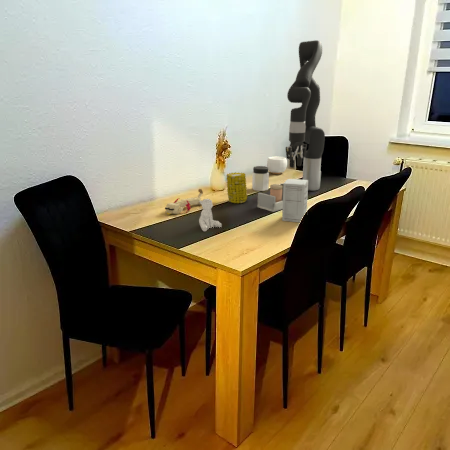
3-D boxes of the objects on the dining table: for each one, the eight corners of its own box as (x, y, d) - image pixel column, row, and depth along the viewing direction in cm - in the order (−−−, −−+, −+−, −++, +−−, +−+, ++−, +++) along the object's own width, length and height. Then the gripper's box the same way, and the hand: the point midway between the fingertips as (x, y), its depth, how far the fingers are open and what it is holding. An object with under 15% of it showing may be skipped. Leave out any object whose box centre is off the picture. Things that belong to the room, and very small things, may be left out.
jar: (260, 192, 241) (261, 169, 237) (249, 189, 247) (249, 167, 243) (271, 189, 247) (272, 167, 243) (260, 186, 253) (260, 165, 249)
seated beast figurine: (203, 232, 182) (203, 203, 178) (192, 226, 189) (191, 198, 185) (222, 227, 188) (222, 199, 184) (210, 222, 194) (210, 195, 190)
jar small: (275, 201, 220) (275, 183, 217) (284, 204, 216) (285, 185, 213) (267, 204, 216) (267, 185, 213) (276, 206, 212) (277, 188, 209)
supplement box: (307, 216, 201) (309, 179, 196) (303, 223, 193) (305, 184, 187) (285, 214, 204) (287, 178, 199) (281, 220, 196) (283, 182, 190)
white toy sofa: (280, 200, 226) (281, 186, 224) (296, 204, 219) (297, 190, 217) (257, 207, 215) (257, 192, 213) (273, 211, 208) (273, 197, 206)
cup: (266, 175, 280) (266, 159, 277) (267, 170, 291) (268, 155, 288) (286, 175, 278) (286, 160, 275) (286, 171, 290) (287, 156, 286)
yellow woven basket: (239, 208, 219) (224, 205, 226) (254, 198, 226) (239, 195, 233) (233, 179, 212) (218, 176, 219) (249, 169, 219) (234, 167, 226)
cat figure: (194, 204, 225) (158, 212, 205) (194, 187, 222) (158, 193, 203) (210, 207, 219) (175, 216, 199) (210, 190, 217) (175, 197, 197)
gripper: (300, 129, 221) (298, 163, 227) (281, 131, 212) (279, 167, 218) (312, 130, 216) (310, 165, 222) (294, 133, 207) (292, 170, 212)
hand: (295, 166), depth 220 cm, fingers open, 5 cm apart
